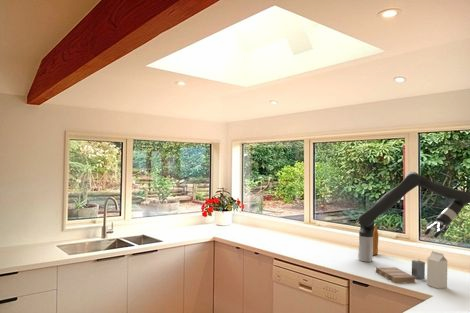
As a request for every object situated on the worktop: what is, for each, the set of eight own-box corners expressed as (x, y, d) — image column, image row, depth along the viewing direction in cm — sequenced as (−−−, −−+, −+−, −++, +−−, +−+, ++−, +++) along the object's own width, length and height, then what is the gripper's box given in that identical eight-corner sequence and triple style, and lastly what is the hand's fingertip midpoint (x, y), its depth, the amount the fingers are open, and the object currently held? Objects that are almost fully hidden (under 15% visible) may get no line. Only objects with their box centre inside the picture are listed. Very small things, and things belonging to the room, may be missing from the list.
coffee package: (365, 250, 279) (365, 223, 280) (379, 254, 270) (380, 225, 270) (358, 252, 273) (358, 224, 274) (373, 256, 264) (373, 226, 264)
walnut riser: (375, 272, 223) (375, 267, 223) (394, 271, 225) (395, 267, 225) (394, 282, 203) (394, 277, 203) (415, 282, 205) (415, 277, 205)
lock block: (411, 276, 216) (411, 259, 216) (419, 276, 217) (419, 259, 217) (416, 279, 211) (417, 261, 212) (424, 279, 212) (424, 261, 212)
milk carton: (438, 289, 195) (439, 254, 195) (426, 284, 201) (427, 251, 202) (447, 287, 198) (447, 253, 198) (435, 283, 204) (436, 250, 204)
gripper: (435, 211, 230) (418, 228, 229) (451, 214, 216) (433, 233, 215) (442, 219, 231) (425, 237, 229) (458, 223, 217) (441, 242, 215)
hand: (429, 235), depth 222 cm, fingers open, 8 cm apart
